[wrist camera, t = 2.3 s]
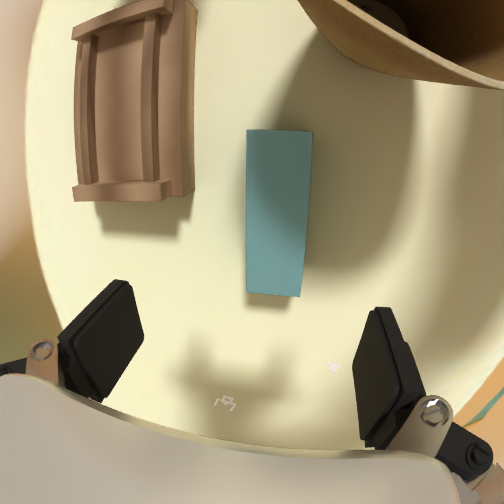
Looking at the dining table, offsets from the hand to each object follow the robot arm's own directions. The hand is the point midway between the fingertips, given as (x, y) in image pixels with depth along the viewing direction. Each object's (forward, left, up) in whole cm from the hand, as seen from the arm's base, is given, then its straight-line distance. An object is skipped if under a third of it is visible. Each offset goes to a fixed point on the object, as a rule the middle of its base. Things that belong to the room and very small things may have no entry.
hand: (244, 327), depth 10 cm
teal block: (0, 0, -17) cm, 17 cm away
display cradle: (+14, -10, -16) cm, 24 cm away
